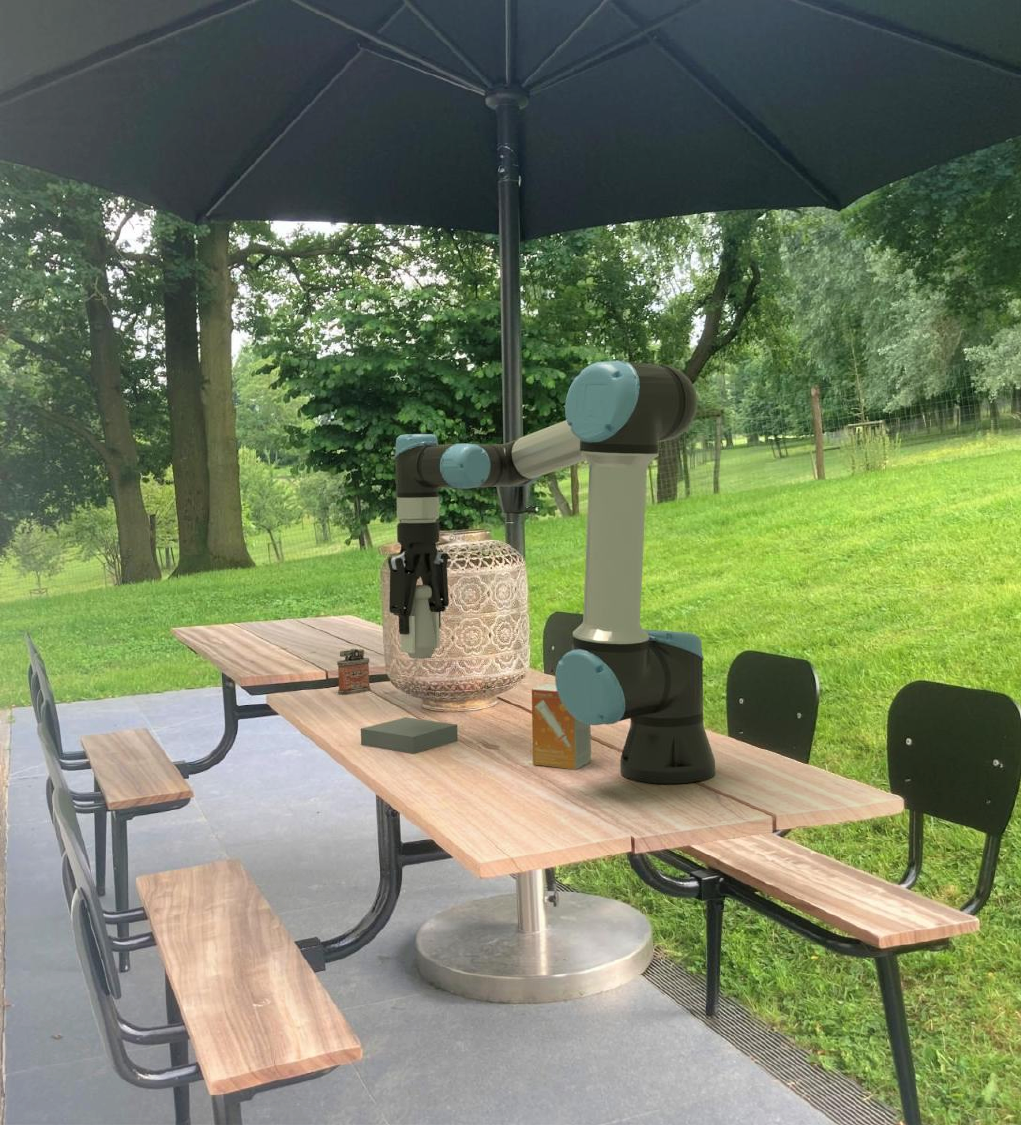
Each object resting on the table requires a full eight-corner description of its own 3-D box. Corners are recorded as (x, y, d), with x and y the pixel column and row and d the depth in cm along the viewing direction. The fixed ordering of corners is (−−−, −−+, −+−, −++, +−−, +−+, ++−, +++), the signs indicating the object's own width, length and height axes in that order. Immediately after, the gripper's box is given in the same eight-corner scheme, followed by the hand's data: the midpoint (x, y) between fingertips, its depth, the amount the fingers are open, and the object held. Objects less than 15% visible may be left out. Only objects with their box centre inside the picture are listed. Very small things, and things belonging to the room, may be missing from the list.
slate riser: (457, 740, 218) (457, 724, 218) (413, 753, 208) (412, 736, 208) (406, 732, 226) (405, 717, 226) (361, 744, 216) (360, 728, 216)
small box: (532, 765, 197) (530, 688, 197) (549, 757, 203) (547, 682, 202) (576, 770, 194) (574, 691, 193) (592, 761, 199) (590, 685, 198)
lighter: (365, 689, 275) (363, 646, 274) (373, 690, 272) (371, 647, 272) (335, 693, 270) (333, 650, 269) (343, 695, 267) (341, 651, 267)
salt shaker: (431, 659, 209) (430, 587, 208) (400, 659, 210) (399, 586, 209) (440, 654, 215) (439, 583, 214) (410, 654, 216) (408, 583, 215)
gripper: (437, 518, 220) (439, 641, 222) (365, 523, 206) (368, 655, 207) (468, 519, 216) (470, 644, 218) (396, 524, 201) (399, 658, 203)
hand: (420, 649), depth 213 cm, fingers closed on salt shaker, 6 cm apart
